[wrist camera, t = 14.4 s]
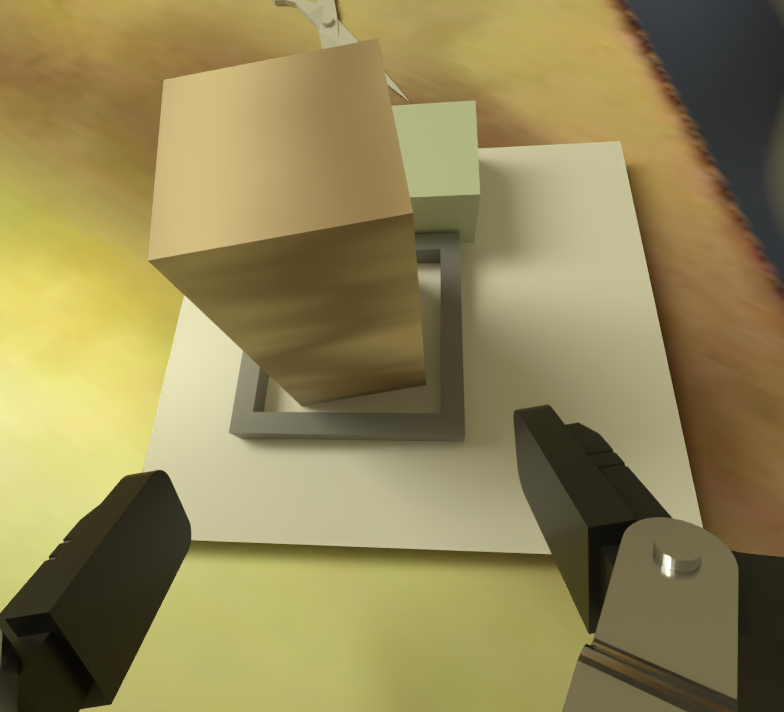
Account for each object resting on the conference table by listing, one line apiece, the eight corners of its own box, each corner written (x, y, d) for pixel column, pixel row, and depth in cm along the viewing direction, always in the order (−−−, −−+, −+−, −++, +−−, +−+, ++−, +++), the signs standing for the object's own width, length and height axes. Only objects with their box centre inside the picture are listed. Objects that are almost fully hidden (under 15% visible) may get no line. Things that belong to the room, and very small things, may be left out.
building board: (146, 537, 17) (107, 537, 15) (226, 179, 24) (206, 146, 22) (690, 558, 15) (729, 562, 13) (611, 160, 22) (628, 123, 20)
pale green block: (255, 249, 21) (227, 205, 18) (270, 167, 22) (247, 114, 20) (474, 242, 20) (480, 194, 17) (470, 157, 21) (475, 100, 19)
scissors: (344, -84, 32) (465, 78, 25) (346, -71, 33) (465, 91, 25) (207, -36, 32) (287, 147, 24) (212, -23, 32) (292, 158, 25)
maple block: (301, 405, 17) (148, 260, 8) (294, 296, 19) (163, 79, 10) (426, 385, 17) (413, 213, 8) (406, 277, 19) (378, 37, 10)
